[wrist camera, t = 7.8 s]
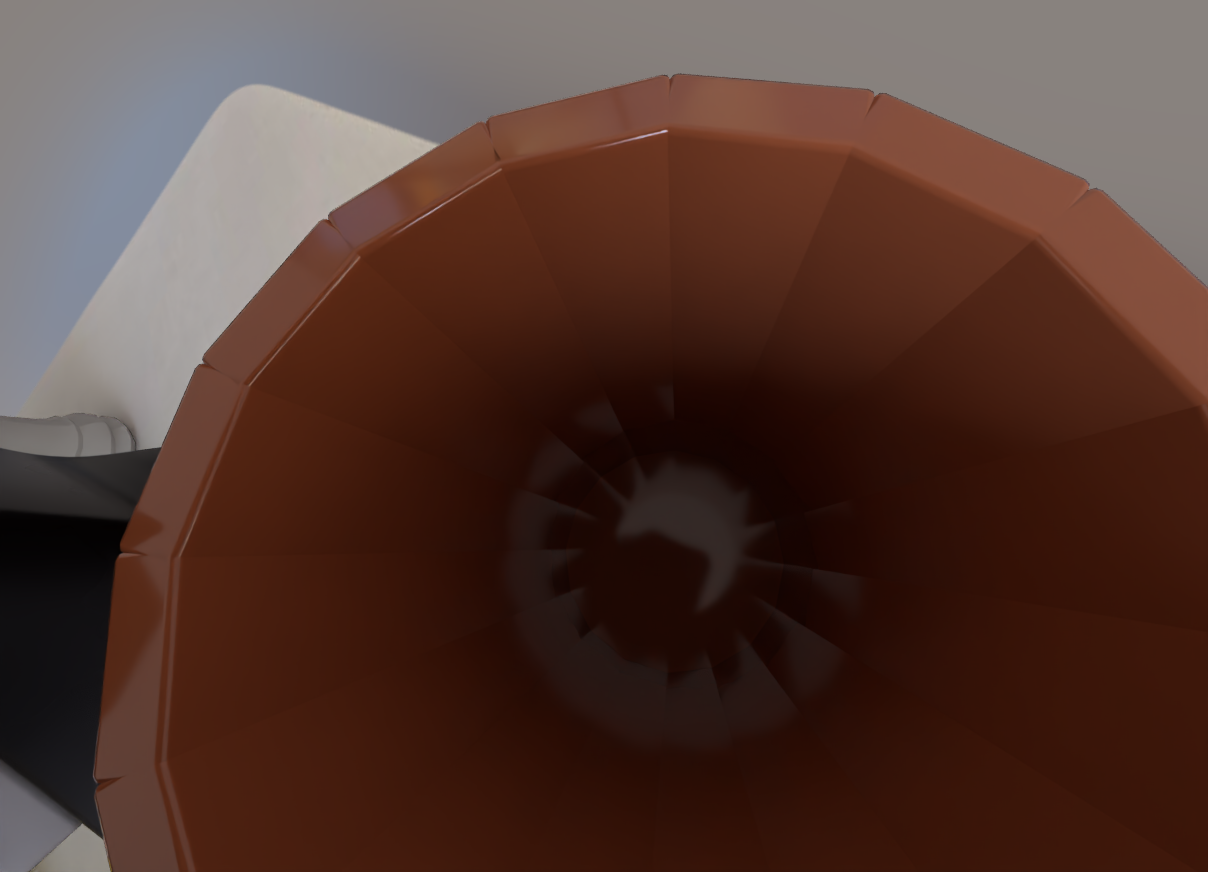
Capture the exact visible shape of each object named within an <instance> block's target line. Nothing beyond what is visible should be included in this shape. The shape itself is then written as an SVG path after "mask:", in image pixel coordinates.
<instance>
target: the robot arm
mask: <svg viewBox="0 0 1208 872" xmlns="http://www.w3.org/2000/svg"><path fill="white" fill-rule="evenodd" d="M160 449H161V447H160V448H153V449H145V450H138V451H130V452H122V453H115V454H107V455H97V456H82V457H63V456H47V455H38V454H30V453H24V452H18V451H13V450H8V449H3V448H0V872H30V871H31V870H32V869H33V868H34V867H35V866H36V865H37V864H38V863H40V862H41V861H42V860H43V859H44V858H45V857H46V856H47V855H48V854H49V853H51V852H52V851H53V850H54V849H55V848H56V847H57V846H58V845H59V844H60V843H62V842H63V841H64V840H65V839H66V838H67V837H68V836H69V835H70V834H71V833H73V832H74V831H75V830H76V829H77V828H78V827H79V826H80V825H81V824H82V823H83V824H84V825H85V826H87V827H88V828H89V829H90V830H92V831H93V832H94V833H96V834H97V835H98V836H99V837H101V838H102V839H103V835H102V830H101V826H100V821H99V817H98V812H97V808H96V803H95V799H94V794H95V789H96V788H97V787H98V786H99V785H100V784H101V783H97V782H95V781H94V778H93V769H94V759H95V750H96V740H97V730H98V720H99V710H100V700H101V691H102V681H103V671H104V661H105V651H106V641H107V631H108V622H109V612H110V602H111V592H112V582H113V572H114V563H115V560H116V558H117V556H118V555H120V554H122V553H123V552H121V551H120V549H119V543H120V541H121V539H122V536H123V534H124V532H125V529H126V527H127V525H128V523H129V520H130V518H131V516H132V513H133V511H134V509H135V506H136V504H137V502H138V499H139V497H140V495H141V493H142V490H143V488H144V486H145V483H146V481H147V479H148V476H149V474H150V472H151V469H152V467H153V465H154V462H155V460H156V458H157V456H158V453H159V451H160ZM103 840H104V839H103Z"/></svg>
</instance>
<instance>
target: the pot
mask: <svg viewBox="0 0 1208 872" xmlns="http://www.w3.org/2000/svg"><path fill="white" fill-rule="evenodd" d="M1088 189H1089V183H1088V182H1087V181H1086V180H1085V179H1084V178H1081V177H1079V176H1076V175H1074V174H1072V173H1070V172H1068V171H1065V170H1063V169H1060V168H1058V167H1056V166H1054V165H1051V164H1049V163H1047V162H1044V161H1042V160H1039V159H1037V158H1035V157H1032V156H1030V155H1028V154H1026V153H1023V152H1021V151H1019V150H1016V149H1014V148H1012V147H1009V146H1007V145H1005V144H1002V143H1000V142H998V141H996V140H993V139H991V138H988V137H986V136H984V135H981V134H979V133H977V132H974V131H972V130H970V129H968V128H965V127H963V126H961V125H958V124H956V123H954V122H951V121H949V120H947V119H944V118H942V117H940V116H937V115H935V114H933V113H931V112H928V111H926V110H923V109H921V108H919V107H916V106H914V105H912V104H910V103H907V102H905V101H903V100H900V99H898V98H896V97H893V96H891V95H889V94H886V93H879V94H878V95H876V96H875V97H874V92H873V91H871V90H869V89H861V88H849V87H837V86H836V87H835V86H824V85H812V84H800V83H788V82H774V81H763V80H751V79H739V78H727V77H714V76H702V75H689V74H676V75H673V76H672V77H671V79H669V77H668V76H667V75H659V76H655V77H651V78H647V79H642V80H638V81H634V82H630V83H626V84H622V85H618V86H613V87H609V88H605V89H601V90H597V91H593V92H589V93H584V94H580V95H576V96H572V97H568V98H564V99H559V100H555V101H552V102H547V103H543V104H539V105H535V106H531V107H526V108H522V109H518V110H514V111H510V112H506V113H501V114H497V115H493V116H491V117H489V118H488V119H487V121H486V124H485V123H484V122H483V121H480V122H476V123H474V124H473V125H471V126H470V127H468V128H466V129H465V130H463V131H462V132H460V133H458V134H456V135H455V136H453V137H452V138H450V139H448V140H447V141H445V142H443V143H442V144H440V145H438V146H437V147H435V148H434V149H432V150H430V151H429V152H427V153H425V154H424V155H422V156H421V157H419V158H417V159H416V160H414V161H412V162H411V163H409V164H407V165H406V166H404V167H403V168H401V169H399V170H398V171H396V172H394V173H393V174H391V175H389V176H388V177H386V178H385V179H383V180H381V181H380V182H378V183H376V184H375V185H373V186H372V187H370V188H368V189H367V190H365V191H363V192H362V193H360V194H358V195H357V196H355V197H354V198H352V199H350V200H349V201H347V202H345V203H344V204H342V205H340V206H339V207H337V208H336V209H334V210H332V211H331V212H330V213H329V215H328V219H329V220H327V219H323V220H321V221H319V222H318V223H317V224H316V226H315V227H314V228H313V229H312V230H311V231H310V233H309V234H308V235H307V236H306V237H305V238H304V239H303V241H302V242H301V243H300V244H299V245H298V246H297V248H296V249H295V250H294V251H293V252H292V253H291V254H290V256H289V257H288V258H287V259H286V260H285V261H284V263H283V264H282V265H281V266H280V267H279V268H278V269H277V271H276V272H275V273H274V274H273V275H272V276H271V278H270V279H269V280H268V281H267V282H266V283H265V284H264V286H263V287H262V288H261V289H260V290H259V291H258V293H257V294H256V295H255V296H254V297H253V298H252V299H251V301H250V302H249V303H248V304H247V305H246V306H245V308H244V309H243V310H242V311H241V312H240V313H239V315H238V316H237V317H236V318H235V319H234V320H233V321H232V323H231V324H230V325H229V326H228V327H227V328H226V330H225V331H224V332H223V333H222V334H221V335H220V336H219V338H218V339H217V340H216V341H215V342H214V343H213V345H212V346H211V347H210V348H209V349H208V350H207V351H206V353H205V354H204V356H203V359H202V360H203V362H204V363H205V364H199V365H198V366H197V367H196V368H195V370H194V372H193V375H192V377H191V379H190V382H189V384H188V386H187V389H186V391H185V393H184V396H183V398H182V400H181V402H180V405H179V407H178V409H177V412H176V414H175V416H174V419H173V421H172V423H171V426H170V428H169V430H168V432H167V435H166V437H165V439H164V442H163V444H162V446H161V449H160V451H159V453H158V456H157V458H156V460H155V462H154V465H153V467H152V469H151V472H150V474H149V476H148V479H147V481H146V483H145V486H144V488H143V490H142V493H141V495H140V497H139V499H138V502H137V504H136V506H135V509H134V511H133V513H132V516H131V518H130V520H129V523H128V525H127V527H126V529H125V532H124V534H123V536H122V539H121V541H120V543H119V549H120V551H121V552H123V553H122V554H120V555H118V556H117V558H116V560H115V563H114V572H113V582H112V592H111V602H110V612H109V622H108V631H107V641H106V651H105V661H104V671H103V681H102V691H101V700H100V710H99V720H98V730H97V740H96V750H95V759H94V769H93V778H94V781H95V782H97V783H101V784H100V785H99V786H98V787H97V788H96V789H95V794H94V799H95V803H96V808H97V812H98V817H99V821H100V826H101V830H102V835H103V839H104V844H105V848H106V853H107V857H108V862H109V866H110V871H111V872H1208V287H1207V286H1206V285H1205V284H1204V283H1203V282H1202V281H1200V280H1199V279H1198V278H1197V277H1196V276H1195V275H1194V274H1193V273H1192V272H1191V271H1190V270H1188V269H1187V268H1186V267H1185V266H1184V265H1183V264H1182V263H1181V262H1180V261H1179V260H1178V259H1177V258H1175V257H1174V256H1173V255H1172V254H1171V253H1170V252H1169V251H1168V250H1167V249H1166V248H1165V247H1163V246H1162V245H1161V244H1160V243H1159V242H1158V241H1157V240H1156V239H1155V238H1154V237H1153V236H1152V235H1151V234H1149V233H1148V232H1147V231H1146V230H1145V229H1144V228H1143V227H1142V226H1141V225H1140V224H1139V223H1137V222H1136V221H1135V220H1134V219H1133V218H1132V217H1131V216H1130V215H1129V214H1128V213H1127V212H1126V211H1125V210H1123V209H1122V208H1121V207H1120V206H1119V205H1118V204H1117V203H1116V202H1115V201H1114V200H1113V199H1111V198H1110V197H1109V196H1108V195H1107V194H1106V193H1105V192H1104V191H1103V190H1100V189H1097V188H1094V189H1090V190H1088Z"/></svg>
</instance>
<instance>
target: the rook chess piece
mask: <svg viewBox="0 0 1208 872" xmlns="http://www.w3.org/2000/svg"><path fill="white" fill-rule="evenodd" d="M0 448H3V449H8V450H13V451H18V452H24V453H30V454H38V455H47V456H63V457H82V456H97V455H107V454H115V453H122V452H130V451H135V441H134V439H133V437H132V435H131V432H130V431H129V430H128V429H127V427H126V426H125V425H124V424H122V423H121V422H120V421H118V420H117V419H116V418H112V417H105V416H101V417H98V416H96V415H92V414H85V413H73V414H70V415H67V416H63V417H59V416H54V417H50V418H47V419H29V418H18V417H7V416H0Z"/></svg>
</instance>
